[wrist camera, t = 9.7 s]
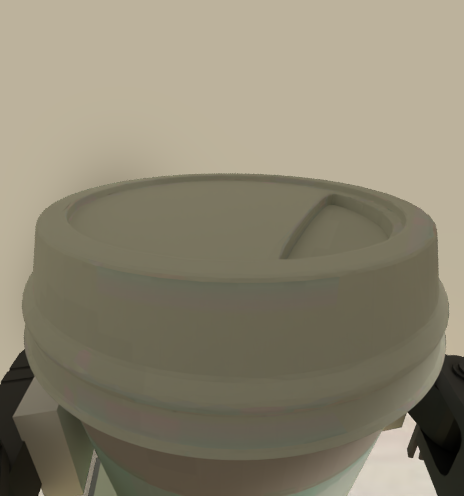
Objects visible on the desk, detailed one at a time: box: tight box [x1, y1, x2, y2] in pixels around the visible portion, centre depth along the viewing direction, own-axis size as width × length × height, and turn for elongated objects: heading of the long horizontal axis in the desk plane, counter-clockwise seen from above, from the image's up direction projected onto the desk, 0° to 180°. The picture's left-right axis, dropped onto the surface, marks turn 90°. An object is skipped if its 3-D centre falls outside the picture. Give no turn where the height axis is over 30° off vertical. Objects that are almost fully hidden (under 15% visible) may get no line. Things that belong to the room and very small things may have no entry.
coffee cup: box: [22, 174, 449, 496], centre depth 9 cm, size 8×8×12 cm
